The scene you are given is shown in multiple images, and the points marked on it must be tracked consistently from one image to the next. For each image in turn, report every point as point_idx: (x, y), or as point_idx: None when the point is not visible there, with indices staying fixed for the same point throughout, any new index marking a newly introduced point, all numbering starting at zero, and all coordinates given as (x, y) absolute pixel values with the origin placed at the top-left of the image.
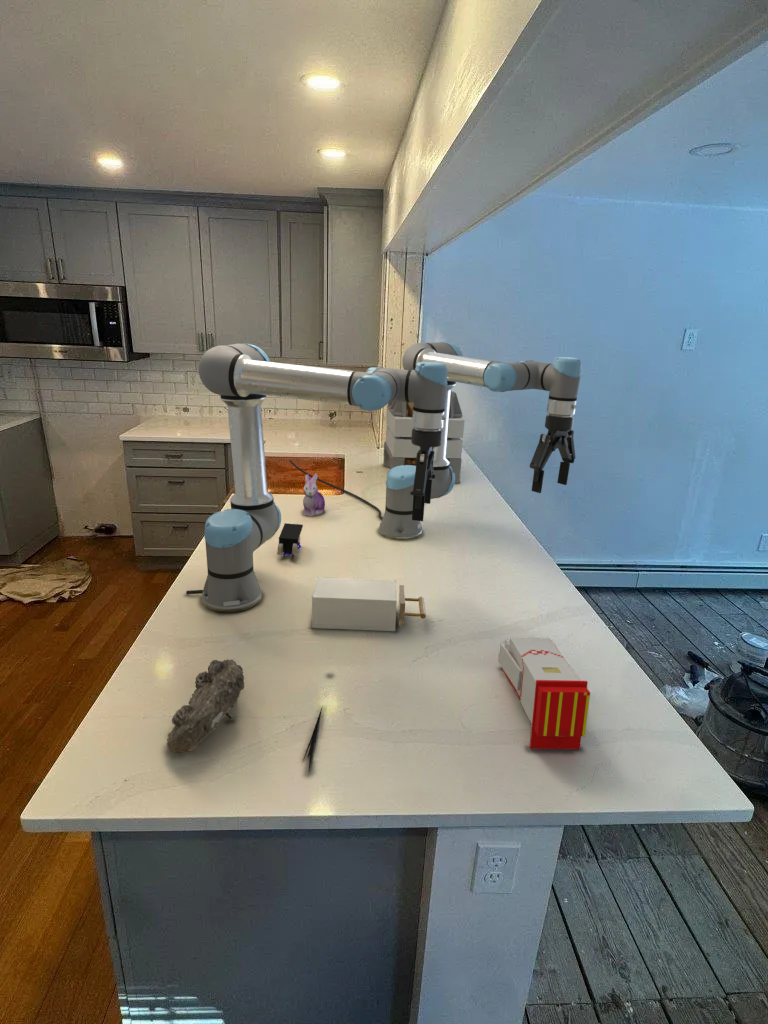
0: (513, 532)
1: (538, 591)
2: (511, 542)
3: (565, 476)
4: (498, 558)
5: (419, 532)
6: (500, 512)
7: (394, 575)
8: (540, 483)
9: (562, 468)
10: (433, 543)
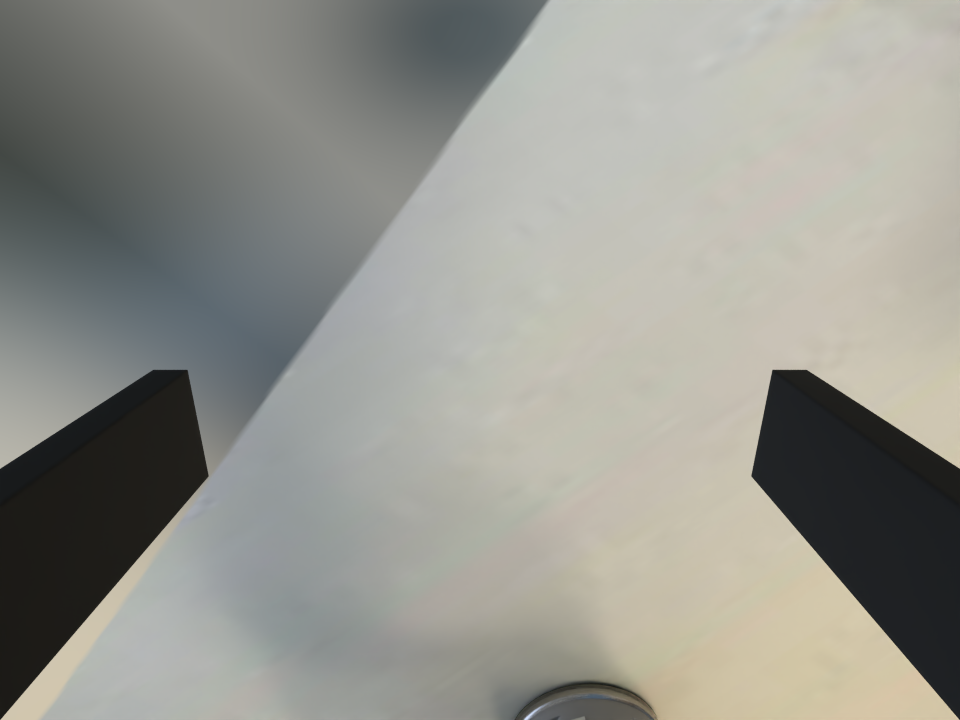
0: (214, 536)
1: (630, 135)
2: (306, 484)
3: (120, 441)
4: (485, 425)
5: (570, 702)
6: (98, 675)
7: None
8: (899, 437)
9: (52, 591)
10: (570, 631)
